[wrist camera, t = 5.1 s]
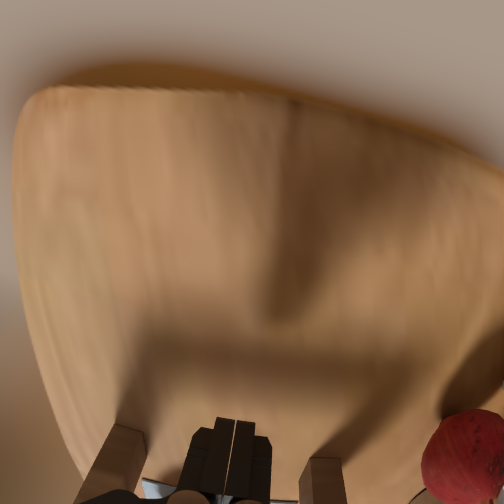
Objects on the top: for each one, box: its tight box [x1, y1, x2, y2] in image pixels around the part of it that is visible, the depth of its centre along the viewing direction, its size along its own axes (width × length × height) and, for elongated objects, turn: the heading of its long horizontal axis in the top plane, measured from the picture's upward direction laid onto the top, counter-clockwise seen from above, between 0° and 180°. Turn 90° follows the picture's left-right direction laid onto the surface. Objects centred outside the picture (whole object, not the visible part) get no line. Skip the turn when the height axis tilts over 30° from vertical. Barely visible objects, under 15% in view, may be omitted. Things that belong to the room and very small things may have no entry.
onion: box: [421, 409, 504, 504], centre depth 12 cm, size 6×6×8 cm
